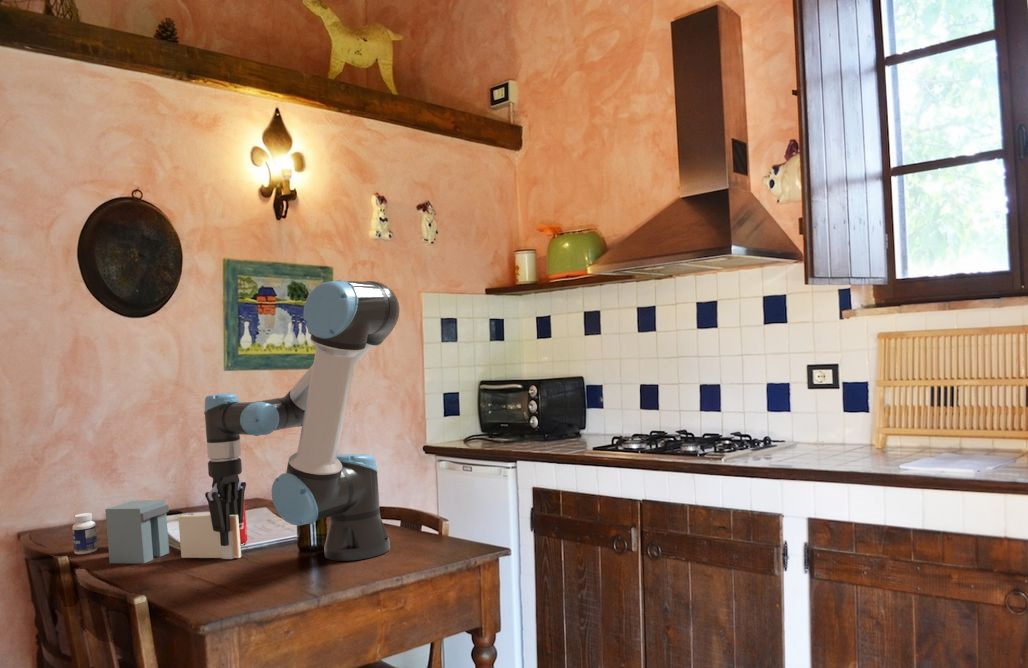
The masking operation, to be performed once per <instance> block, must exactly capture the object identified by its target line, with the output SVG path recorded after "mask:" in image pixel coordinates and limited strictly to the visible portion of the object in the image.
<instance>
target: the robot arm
mask: <svg viewBox="0 0 1028 668" xmlns="http://www.w3.org/2000/svg"><path fill="white" fill-rule="evenodd" d="M303 306H304V307H303V313H302V314H303V320H304V321H305V322H306V323H305V327H306V329H307V330H308V332H309V333H310V341H311V342H312V344H313V345H314V346H315V347H314V348H315V354H314V358H313V364H312V365H311V366H310V367H309V368H308V369H307V371H306V372H305V373H304V374H303V375H302V376H301V377H300V379H299V380H298V381H297V382H296V383H295V384H294V386H293V387H292V388H291V389H290V390H289V391H288V392H287V393H286V394H285V395H284V396H283V397H279V398H278V397H277V398H272V399H266V400H257V401H252V402H251V401H250V402H249V401H248V402H246V401H245V402H243V401H242V402H241V401H239V399H238V395H237V394H236V393H234V392H226V393H225V392H224V393H215V394H214V393H213V394H208V395H206V397H205V399H204V412H203V413H204V421H205V436H206V449H207V451H206V453H207V458H208V462H207V470H208V472H207V473H208V476H209V477H210V478H212V483H211V490H210V491H207V492H205V493H204V497H205V498H206V501H207V503H208V504H207V505H208V509H209V515H211V521H212V526H213V531H216V532H220V541H221V542H220V544H221V550H222V558H221V560H233V559H235V558H234V553H233V536H232V531H229V530H230V518H229V515H238V518H239V524H240V523H243V511H244V502H245V490H246V488H247V482H246V481H240V477H239V475H241V474H242V472H243V469H242V468H243V467H242V466H243V465H242V459H241V457H240V456H241V455H242V447H241V446H242V445H241V435H242V436H243V435H244V436H245V435H246V436H255V437H259V436H267V435H270V434H272V433H273V432H275V431H279V430H284V429H291V428H295V427H299V428H301V429H300V436H299V441H298V447H297V451H296V452H295V453H293V454H292V455H290V456H289V457H288V462H287V467H286V471H285V473H281V474H280V475H279V476H277V477H276V478H275V479H274V480H273V483H272V487H271V500H272V504H273V507H274V508H275V509H276V512H277V514H278V515H279V516H280V518H281V519H283V520H284V521H285V522H286V523H288V524H290V525H293V526H303V525H308V524H309V525H310V524H314V523H315V522H317V521H319V520H322V519H323V520H324V519H326V518H329V525H328V528H327V532H326V533H327V534H326V538H325V543H324V547H323V548H324V550H323V551H324V557H325V558H326V559H327V560H330V561H338V562H339V561H341V562H342V561H344V562H346V561H348V562H349V561H350V562H351V561H359V560H364V559H365V560H366V559H371V558H374V557H378V556H381V555H383V554H386V553H388V551H389V550H390V549H391V542H390V537H389V534H388V532H387V530H386V527H385V525H384V522H383V520H382V518H381V510H380V495H379V494H380V493H379V480H378V479H379V477H378V473H379V471H378V469H377V462H376V458H375V457H374V456H373V455H371V454H367V453H365V454H362V453H354V454H353V453H352V454H351V453H349V454H348V453H347V454H346V453H345V454H343V453H341V454H339V449H340V444H341V438H342V433H343V428H344V423H345V416H346V413H347V406H348V401H349V396H350V392H351V387H352V382H353V381H352V380H353V376H354V370H355V366H356V365H357V364H358V362H360V361H361V359H362V358H363V357H364V356H365V355H366V354H367V353H368V351H370V349H372V347H378V346H380V345H382V343H383V342H384V341H385V340H386V339H387V338H388V336H389V335H390V334H391V332H392V331H393V330H394V328H395V327H396V325H397V323H398V320H399V318H400V317H399V316H400V304H399V300H398V297H397V295H396V294H395V292H394V291H393V290H392V289H391V288H390V287H388V286H387V285H386V284H383V283H381V282H379V281H370V280H367V281H357V280H356V281H355V280H342V279H340V280H339V279H338V280H333V281H325V282H322V283H320V284H318V285H317V286H315V287H314V288H313V289H312V290H311V291H310V293H308V296H307V297H306V299H305V302H304V305H303ZM241 526H242V525H239V528H241Z"/></svg>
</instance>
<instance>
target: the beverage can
mask: <svg viewBox="0 0 1028 668" xmlns="http://www.w3.org/2000/svg"><path fill="white" fill-rule="evenodd" d="M245 502H246V501H244V511H243V523H240V524H239V525H242V526H241V528H239V531H240V544H243V543H245V542H246V543H247V541H248V527H247V517H246V506H245V505H246V503H245Z"/></svg>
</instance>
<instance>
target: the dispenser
mask: <svg viewBox="0 0 1028 668" xmlns="http://www.w3.org/2000/svg"><path fill="white" fill-rule="evenodd" d="M104 509H105V522H106V534H107V535H106V537H107V547H108V559H109V564H146V563H149V562H151V561H153V560H154V557H158V558H159V557H162V556H165V555H167V554H170V545H169V532H168V530H169V529H168V521H167V518H168V517H167V513H169V511H170V510H169V504H166V500H131V501H128V502H127V501H126V502H123V503H121V504H117V505H115V506H111V507H108V508H104Z"/></svg>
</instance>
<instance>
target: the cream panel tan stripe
mask: <svg viewBox="0 0 1028 668" xmlns="http://www.w3.org/2000/svg"><path fill="white" fill-rule="evenodd" d="M177 517H178V518H177V519H178V531H179V545H180V556H181V557H180V558H183V559H184V558H187V559H188V558H190V559H191V558H193V559H194V558H195V559H196V558H197V559H198V558H199V559H200V558H201V559H202V558H203V559H204V558H205V559H208V558H209V559H210V558H211V559H212V558H215V559H222V550H221V544H220V542H221V541H220V532H216V531H213V526H212V521H211V515H210V514H202V515H201V514H195V515H193V514H191V515H190V514H189V515H185V514H184V515H183V514H182V515H181V514H180V515H179V516H177ZM229 518H230V530H229V531H232V536H233V553H234V558H233V559H240V558H241V557H242V548H241V547H242V546H241V545H240V531H239V518H238V515H229Z"/></svg>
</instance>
